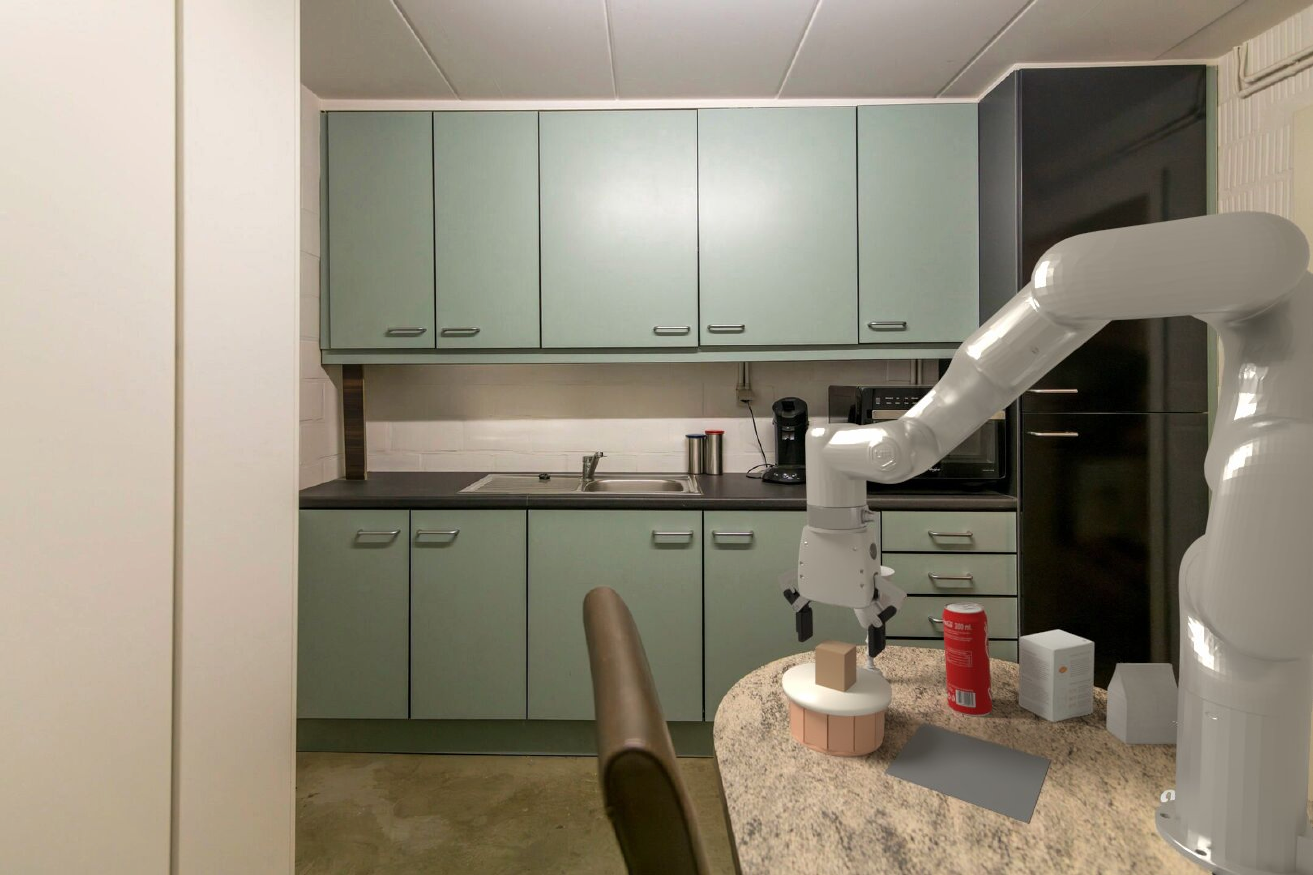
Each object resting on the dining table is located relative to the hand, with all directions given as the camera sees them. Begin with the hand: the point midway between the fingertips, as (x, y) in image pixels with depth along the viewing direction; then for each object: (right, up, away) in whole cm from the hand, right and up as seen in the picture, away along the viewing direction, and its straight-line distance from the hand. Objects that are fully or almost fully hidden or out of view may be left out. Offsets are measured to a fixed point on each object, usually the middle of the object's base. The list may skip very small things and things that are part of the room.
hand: (839, 646), depth 85 cm
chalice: (+9, -11, +16) cm, 22 cm away
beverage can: (+20, -12, +7) cm, 25 cm away
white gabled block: (+39, -12, -1) cm, 41 cm away
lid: (0, -6, +1) cm, 6 cm away
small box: (+33, -12, +7) cm, 35 cm away
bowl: (0, -12, +1) cm, 12 cm away
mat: (+13, -12, -7) cm, 20 cm away
